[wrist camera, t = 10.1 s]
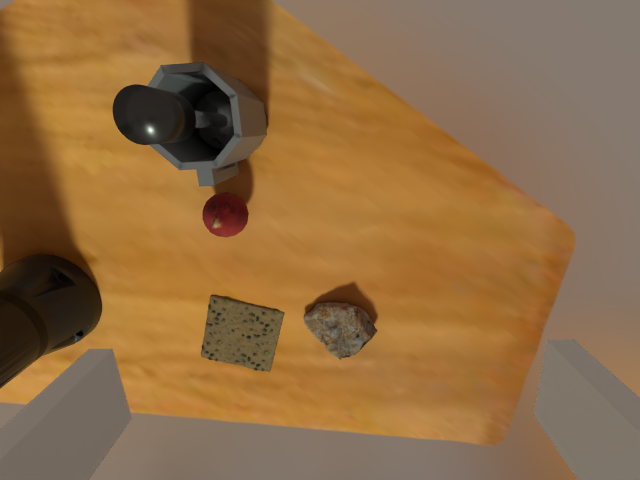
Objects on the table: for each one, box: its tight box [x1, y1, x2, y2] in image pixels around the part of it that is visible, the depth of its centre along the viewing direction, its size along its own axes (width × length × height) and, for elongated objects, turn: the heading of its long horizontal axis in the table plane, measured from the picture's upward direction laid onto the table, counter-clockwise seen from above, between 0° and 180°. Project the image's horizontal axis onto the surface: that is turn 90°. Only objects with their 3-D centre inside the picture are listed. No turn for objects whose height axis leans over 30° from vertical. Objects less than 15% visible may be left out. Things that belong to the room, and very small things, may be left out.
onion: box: [203, 192, 248, 237], centre depth 45 cm, size 6×6×8 cm
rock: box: [304, 302, 377, 360], centre depth 52 cm, size 9×6×10 cm
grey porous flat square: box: [201, 295, 285, 372], centre depth 55 cm, size 12×12×1 cm
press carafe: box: [148, 62, 267, 186], centre depth 39 cm, size 9×11×14 cm
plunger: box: [113, 85, 235, 149], centre depth 33 cm, size 7×7×19 cm
